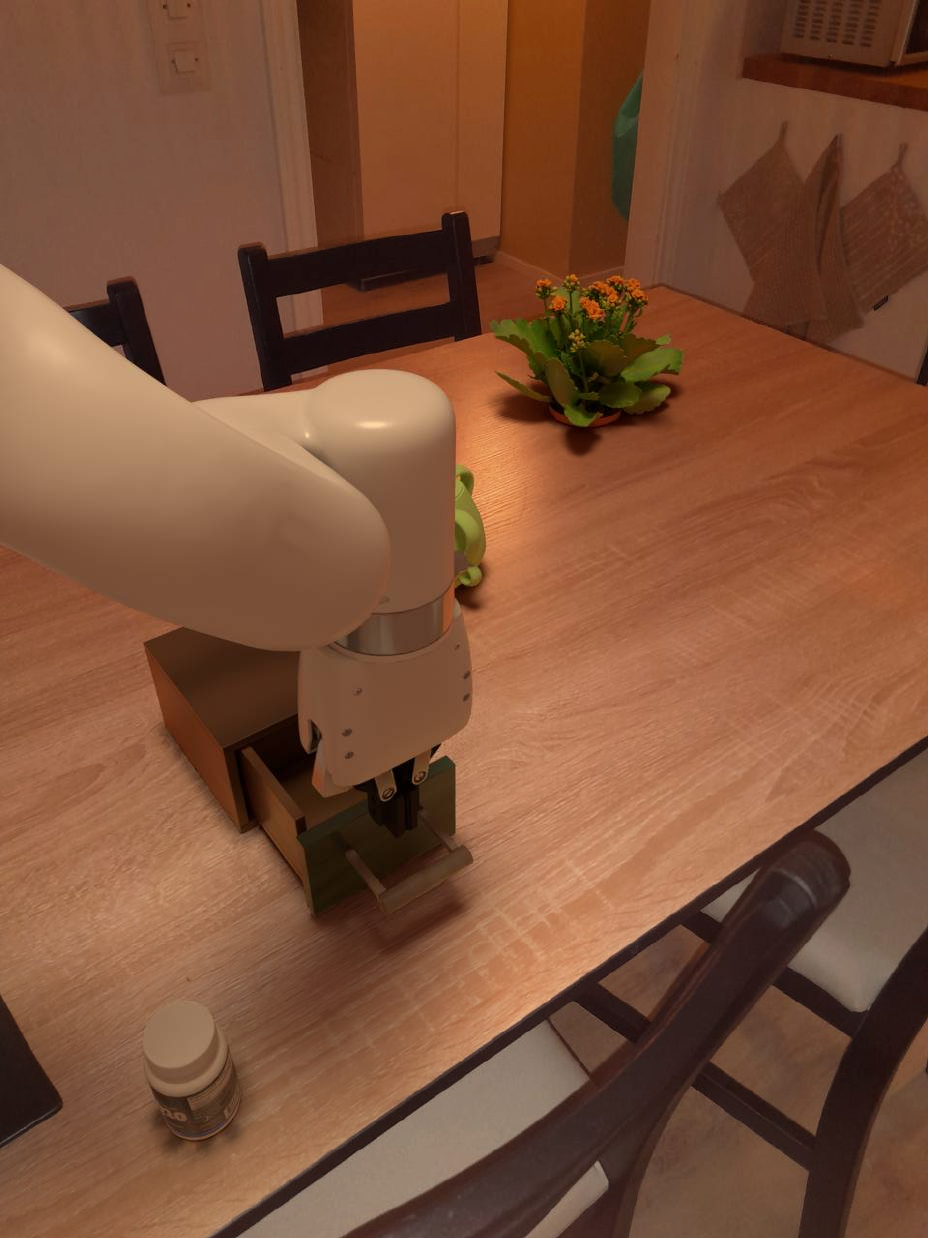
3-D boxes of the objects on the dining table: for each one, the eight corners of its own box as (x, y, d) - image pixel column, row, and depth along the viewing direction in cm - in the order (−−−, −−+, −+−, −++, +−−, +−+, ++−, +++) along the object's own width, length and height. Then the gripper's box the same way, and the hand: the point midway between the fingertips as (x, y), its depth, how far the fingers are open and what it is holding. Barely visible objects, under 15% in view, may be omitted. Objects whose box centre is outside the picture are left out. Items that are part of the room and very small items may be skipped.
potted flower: (651, 471, 118) (671, 334, 107) (467, 442, 124) (468, 309, 113) (680, 386, 137) (699, 262, 126) (519, 364, 143) (524, 243, 132)
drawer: (502, 884, 71) (505, 814, 66) (357, 977, 65) (349, 908, 60) (362, 732, 82) (356, 663, 78) (229, 799, 77) (214, 729, 72)
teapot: (482, 633, 94) (485, 525, 86) (337, 630, 95) (327, 521, 87) (485, 540, 107) (488, 438, 99) (356, 537, 107) (349, 434, 99)
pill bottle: (148, 1101, 59) (117, 1031, 54) (214, 1048, 62) (191, 977, 56) (190, 1160, 57) (162, 1093, 51) (257, 1103, 59) (237, 1033, 54)
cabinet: (388, 757, 81) (382, 672, 75) (241, 834, 75) (222, 748, 69) (302, 664, 91) (291, 582, 85) (165, 726, 84) (142, 642, 78)
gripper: (455, 526, 59) (452, 740, 70) (229, 613, 52) (266, 835, 63) (534, 586, 54) (517, 804, 66) (298, 690, 47) (325, 915, 58)
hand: (394, 819), depth 64 cm, fingers closed
